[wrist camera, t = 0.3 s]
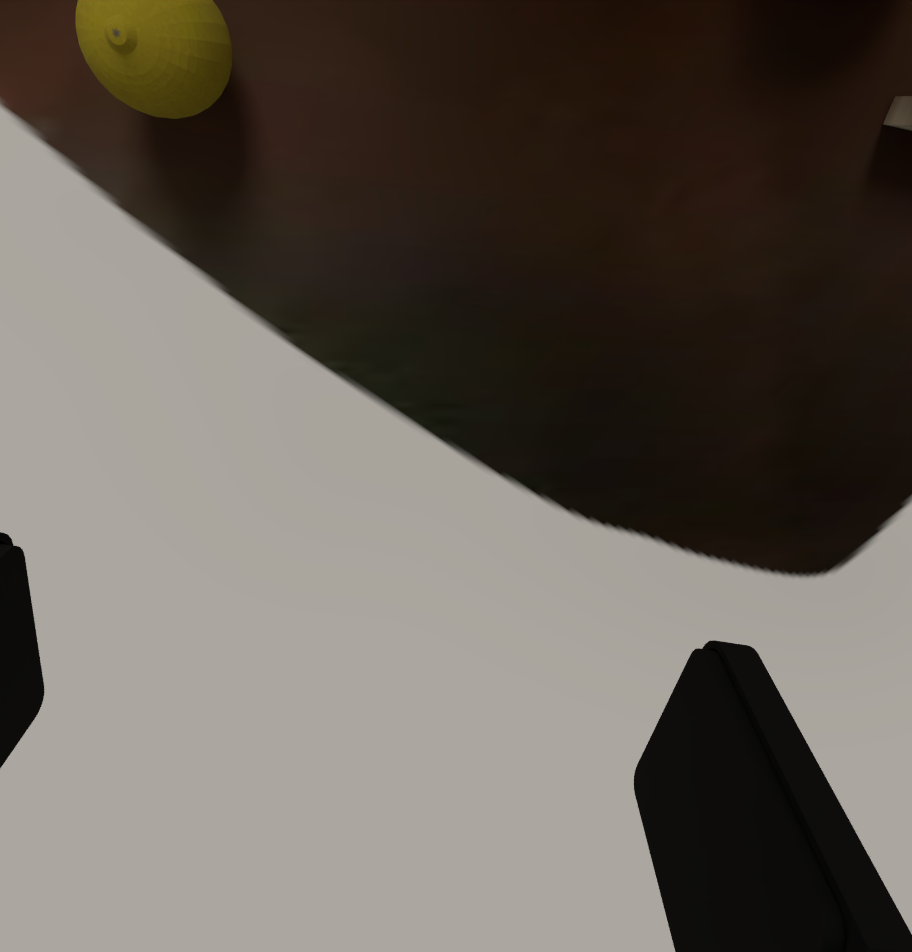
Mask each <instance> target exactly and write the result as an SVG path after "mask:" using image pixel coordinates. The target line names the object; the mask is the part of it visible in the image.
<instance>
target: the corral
mask: <svg viewBox="0 0 912 952" xmlns="http://www.w3.org/2000/svg"><path fill="white" fill-rule="evenodd" d="M883 125H888V126H892V127H897V128H901V129H906V130H910V131H912V96H895V98H894V100H893V102H892V104H891V107H890V109H889V111H888V114H887V116H886V118H885V120H884V123H883Z"/></svg>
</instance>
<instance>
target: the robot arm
mask: <svg viewBox="0 0 912 952" xmlns="http://www.w3.org/2000/svg"><path fill="white" fill-rule="evenodd" d="M43 696H44V683H43V677H42V670H41V663H40V657H39V650H38V643H37V636H36V629H35V623H34V616H33V609H32V603H31V596H30V589H29V583H28V576H27V570H26V562H25V556H24V552H23V550H22V549H21V548H20V547H18V546H13V543H12V539H11V538H10V537H9V536H8V535H7V534H5V533H1V532H0V768H1V766H2V765H3V764H4V762H5V761H6V759H7V758H8V756H9V755H10V753H11V752H12V751H13V749H14V748H15V746H16V745H17V743H18V742H19V740H20V739H21V737H22V736H23V735H24V733H25V732H26V730H27V729H28V727H29V726H30V725H31V723H32V722H33V720H34V719H35V717H36V715H37V714H38V712H39V710H40V707H41V705H42V701H43ZM634 790H635V796H636V800H637V803H638V808H639V811H640V815H641V819H642V823H643V827H644V831H645V835H646V839H647V842H648V846H649V850H650V854H651V858H652V862H653V866H654V870H655V874H656V878H657V882H658V885H659V889H660V893H661V897H662V901H663V905H664V909H665V912H666V917H667V921H668V924H669V928H670V932H671V936H672V940H673V943H674V948H675V951H676V952H912V934H911V933H910V931H909V929H908V927H907V925H906V923H905V922H904V920H903V918H902V916H901V914H900V912H899V911H898V909H897V907H896V905H895V903H894V902H893V900H892V898H891V896H890V894H889V893H888V891H887V889H886V887H885V885H884V883H883V881H882V880H881V878H880V876H879V874H878V872H877V870H876V869H875V867H874V865H873V863H872V861H871V859H870V858H869V856H868V854H867V852H866V850H865V849H864V847H863V845H862V843H861V841H860V840H859V838H858V836H857V834H856V832H855V830H854V828H853V827H852V825H851V823H850V821H849V819H848V818H847V816H846V814H845V812H844V810H843V809H842V806H841V805H840V803H839V801H838V799H837V797H836V796H835V794H834V792H833V790H832V788H831V786H830V785H829V783H828V781H827V779H826V777H825V775H824V774H823V772H822V770H821V768H820V766H819V764H818V763H817V761H816V759H815V757H814V756H813V753H812V752H811V750H810V748H809V746H808V744H807V743H806V741H805V739H804V737H803V735H802V733H801V732H800V730H799V728H798V726H797V724H796V722H795V721H794V719H793V717H792V715H791V713H790V711H789V710H788V708H787V706H786V704H785V703H784V700H783V699H782V697H781V695H780V693H779V691H778V690H777V688H776V686H775V684H774V682H773V680H772V679H771V677H770V675H769V673H768V671H767V669H766V668H765V666H764V664H763V662H762V660H761V659H760V657H759V655H758V653H757V652H756V651H755V649H754V648H752V647H750V646H747V645H740V644H733V643H727V642H720V641H709V642H708V643H706V644H705V646H704V647H703V649H695V650H694V651H693V652H692V654H691V655H690V657H689V659H688V661H687V663H686V665H685V668H684V670H683V672H682V674H681V676H680V678H679V680H678V682H677V684H676V686H675V688H674V690H673V692H672V694H671V696H670V698H669V701H668V703H667V705H666V707H665V709H664V711H663V713H662V715H661V717H660V719H659V721H658V723H657V726H656V727H655V730H654V732H653V734H652V736H651V738H650V740H649V742H648V744H647V746H646V748H645V750H644V752H643V754H642V757H641V759H640V760H639V763H638V765H637V767H636V770H635V775H634Z"/></svg>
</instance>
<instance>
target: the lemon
mask: <svg viewBox="0 0 912 952" xmlns="http://www.w3.org/2000/svg"><path fill="white" fill-rule="evenodd" d="M76 31H77V36H78V41H79V46H80V48H81V50H82V53H83V55H84V57H85V60H86V62H87V64H88V65H89V67H90V68H91V70H92V71H93V73H94V74H95V76H96V77H97V79H98V80H99V81H100V82H101V83H102V84H103V85H104V86H105V87H106V88H107V89H108V91H109V92H110V93H111V94H113V95H114V96H115V97H116V98H118V99H119V100H121V101H122V102H124V103H125V104H127V105H129V106H130V107H132V108H133V109H135V110H138V111H141V112H143V113H146V114H149V115H151V116H155V117H162V118H172V119H179V118H184V117H189V116H194V115H196V114H198V113H200V112H202V111H204V110H205V109H207V108H209V107H210V106H211V105H212V104H213V103H214V102H215V101H216V100H217V99H218V98H219V97H220V96H221V95H222V93H223V91H224V89H225V87H226V85H227V83H228V81H229V77H230V73H231V68H232V44H231V40H230V35H229V31H228V27H227V25H226V23H225V21H224V19H223V16H222V14H221V12H220V10H219V8H218V7H217V6H216V4H215V3H214V1H213V0H78V3H77V7H76Z"/></svg>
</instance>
